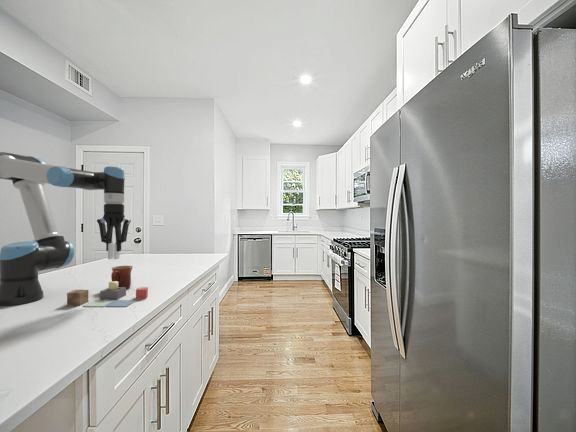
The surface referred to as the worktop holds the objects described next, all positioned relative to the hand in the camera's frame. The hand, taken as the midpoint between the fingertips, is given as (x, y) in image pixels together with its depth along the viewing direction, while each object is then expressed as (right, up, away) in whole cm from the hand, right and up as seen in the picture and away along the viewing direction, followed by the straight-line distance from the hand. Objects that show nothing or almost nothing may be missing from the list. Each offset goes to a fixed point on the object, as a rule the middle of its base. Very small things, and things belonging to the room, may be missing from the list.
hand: (113, 258), depth 129 cm
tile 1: (-1, -17, -9) cm, 19 cm away
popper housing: (0, -16, 0) cm, 16 cm away
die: (+12, -17, 0) cm, 20 cm away
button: (0, -14, 0) cm, 14 cm away
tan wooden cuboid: (-9, -17, -9) cm, 21 cm away
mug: (-5, -17, +13) cm, 22 cm away
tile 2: (+8, -17, -9) cm, 20 cm away
